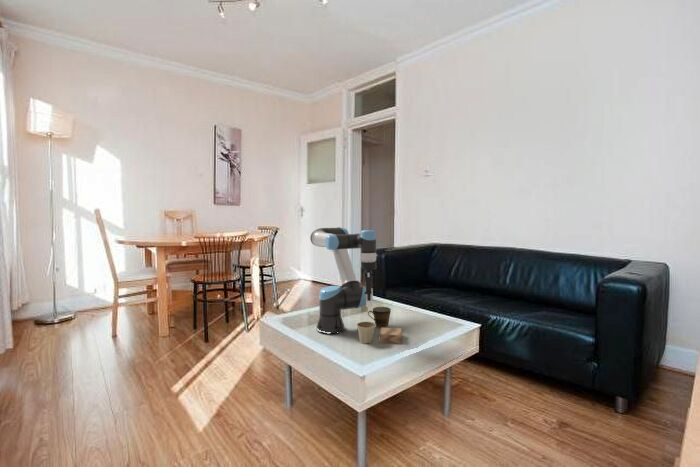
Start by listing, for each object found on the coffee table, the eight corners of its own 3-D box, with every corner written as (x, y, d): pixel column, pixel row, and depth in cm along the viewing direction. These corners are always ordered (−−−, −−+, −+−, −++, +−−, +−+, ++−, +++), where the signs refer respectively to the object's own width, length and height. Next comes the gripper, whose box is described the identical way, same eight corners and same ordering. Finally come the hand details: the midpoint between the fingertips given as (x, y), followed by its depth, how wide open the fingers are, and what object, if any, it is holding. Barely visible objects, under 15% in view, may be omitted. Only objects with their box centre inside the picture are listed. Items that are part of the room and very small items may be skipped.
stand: (379, 342, 176) (379, 334, 176) (380, 334, 187) (380, 327, 187) (401, 343, 174) (401, 335, 174) (401, 335, 185) (401, 328, 185)
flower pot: (375, 338, 182) (375, 321, 181) (375, 345, 172) (375, 327, 172) (357, 337, 182) (357, 321, 182) (355, 344, 173) (355, 327, 173)
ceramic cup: (387, 323, 206) (387, 306, 205) (393, 328, 196) (393, 310, 195) (365, 324, 203) (365, 307, 202) (370, 330, 193) (370, 312, 192)
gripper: (375, 264, 165) (376, 310, 165) (376, 258, 190) (377, 298, 190) (359, 264, 165) (360, 310, 166) (362, 258, 190) (363, 298, 191)
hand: (369, 304), depth 178 cm, fingers open, 13 cm apart
